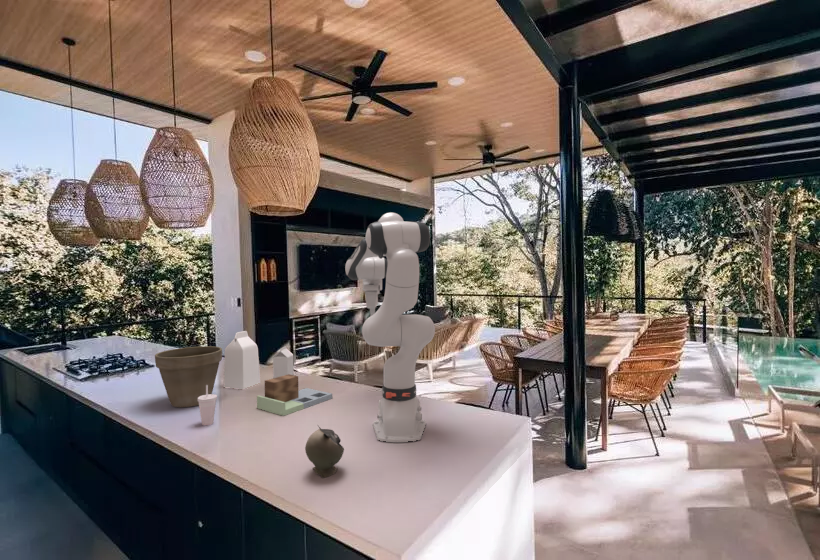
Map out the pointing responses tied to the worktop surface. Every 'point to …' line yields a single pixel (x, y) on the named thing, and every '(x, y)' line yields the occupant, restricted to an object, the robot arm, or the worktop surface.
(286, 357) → the milk carton
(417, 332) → the robot arm
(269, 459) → the worktop surface
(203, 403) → the smoothie
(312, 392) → the trap deck
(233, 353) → the milk
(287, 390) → the walnut block
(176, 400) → the plant pot
